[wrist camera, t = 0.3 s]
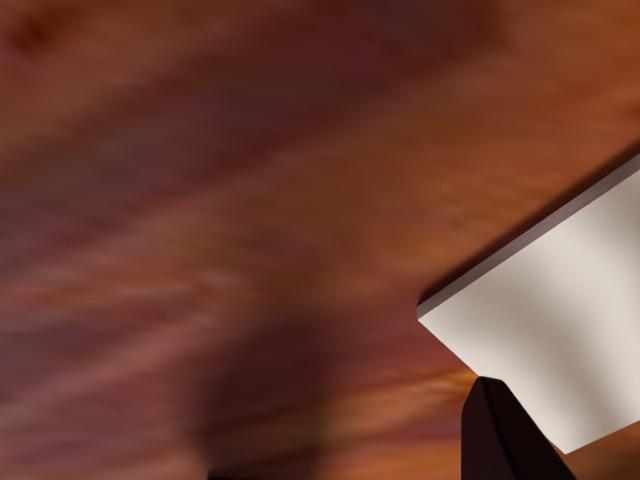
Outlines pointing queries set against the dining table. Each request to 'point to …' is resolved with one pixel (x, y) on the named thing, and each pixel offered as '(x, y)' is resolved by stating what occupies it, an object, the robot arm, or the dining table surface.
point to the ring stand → (558, 314)
